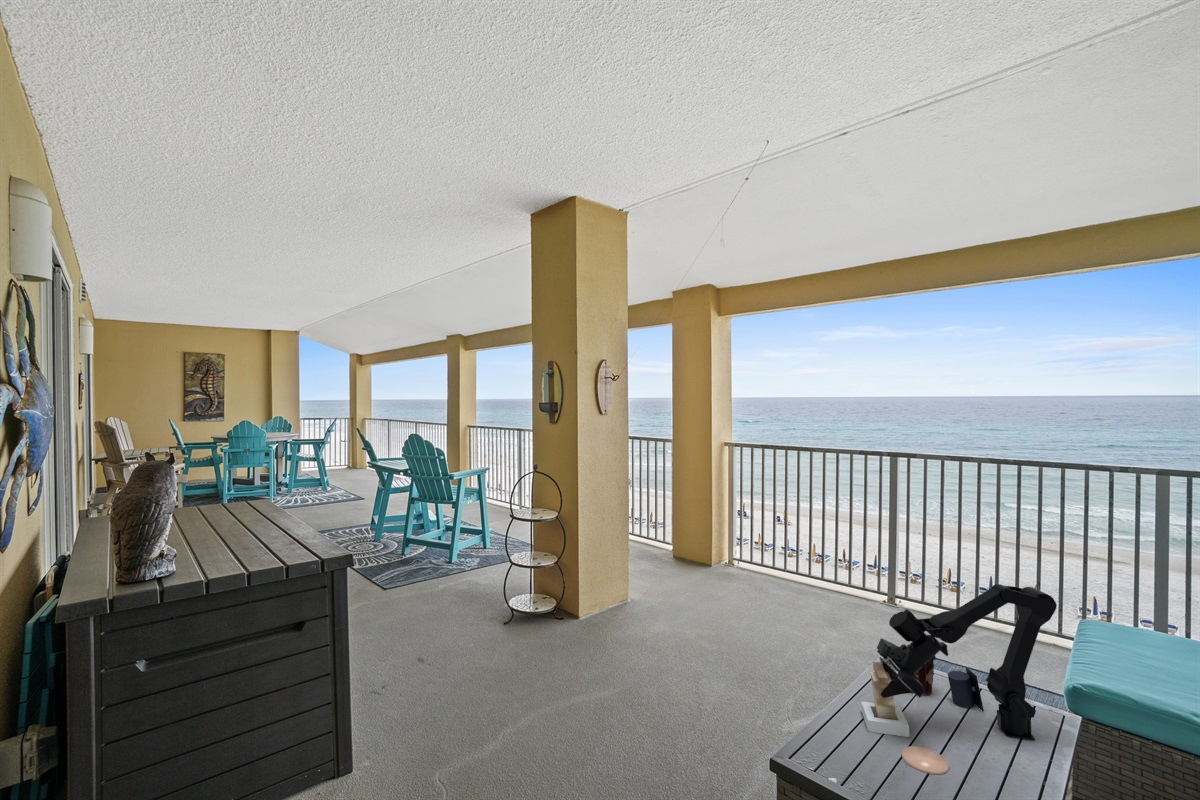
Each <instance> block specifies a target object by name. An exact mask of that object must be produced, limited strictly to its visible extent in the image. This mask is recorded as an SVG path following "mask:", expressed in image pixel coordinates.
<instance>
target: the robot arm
mask: <svg viewBox="0 0 1200 800" xmlns="http://www.w3.org/2000/svg"><path fill="white" fill-rule="evenodd" d="M1007 604H1012V605H1016V611H1017V616H1018V617H1017V620H1016V624H1015V626H1014V630H1013V632H1012V635H1011V638H1010V640H1009V645H1008V647H1007V649H1006V653H1005V656H1004V659H1003V662H1002V665H1001V666H999V667H998V668H997V669H995V668H993V667H990V668H989V671H988V672H989V673H988V677H987V678H985V682H987V685H986V687H987V690H988V691H989V693H990V694H991V695H992V696H994V699H995V700H996V701H997V703H998V709H997V710H996V725H997V726H998V727H999V729H1000V730H1001V731H1002V732H1003V734H1004V735H1005V736H1006V737H1009V738H1016V739H1023V740H1031V741H1035V739H1036V738H1035V736H1034V735H1033V734H1032V719H1033V718H1035V715H1036V712H1037V710H1036V709H1035V708H1034V706H1032V705H1031V704H1030V703H1029V702H1028V701H1027V700H1026V695H1027V688H1026V683H1025V674H1026V671H1027V667H1028V666H1029V661H1030V660H1031V655H1032V653H1033V650H1034V647H1035V644H1036V641H1037V638H1038V637H1039V632H1040V630H1041V628H1042V626H1043V625H1045V624H1046V623H1047V622H1049V621H1050V620H1051V619H1052V617H1053V615H1054V614H1055V612H1056V610H1057V606H1058V605H1057V602H1056V601H1055V599H1054V597H1053V596H1051V595H1050V594H1049V593H1046V592H1044V591H1041V590H1039V589H1037V588H1036V587H1035V588H1034V587H1033V586H1025V587H1022V588H1021V587H1017V586H1013V585H1012V586H1011V585H1003V584H1000V583H997V584H993V585H992V586H991V588H989V589H987V590H986V591H985V592H982V593H981V594H979V595H978V596H976V597H974V598H973V599H970V601H968V602H966V603H965V604H962V605H961V606H960V607H957V608H956V609H953V610H947V611H941V612H939V613H937V614H935V615H932V616H931V617H927V618H917V617H916V616H915V615H914V613H913V612H911V611H910V610H909V609H905V610H904V611H898V612H897V613H895V614H893V615H892V616H891V618H890V619H889V623H888V624H889V626H890V627H891V629H893V630H894V631H895V632H896V633H897V634H898V635H899V636H900V637H901V638H902V639H904V640H905V642H910V643H909V644H907V645H908V646H907V645H906V644H901V645H900V646H898V645H897V644H894V643H892V642H890V641H888V640H887V639H884V638H880V640H879V642H878V644H877V646H876V649H877V650H876V651H877V653H878V654H879V655H880V656H879V660H880V661H879V662H881V663H882V665H883V668H884V670H885V672H888V674H889V676H890V678H891V682H890V683H889V685H887V687H886V688H885V689H884V690H883V691H882V693H881V696H882V697H883V698H886V697H891V696H894V697H895V696H899V695H905V694H912V695H913V694H915V695H916V696H917V697H918V698H921V697H922V696H924V695H923V694H924V693H925V688H924V687H923V686H922V685H921V684H920V682H919V681H918V680H917V679H916V678H917V677H916V675H915V673H917V672H918V671H919V670H920V669H921V668H922V667H923V668H924V669H926V668H927V667H928V666H927V665H926V663H927V662H928V661H929V660H930V659H931V658H933V657H934V656H935V657H936V655H937V654H938V653H939V652H941V653H942V654H943V655H945V656H946V657H948V656H949V651H948V645H947V644H955V643H957V642H958V641H959V640H960V639H961V638H962V637H964V636H965V635H966V633H967V631H968V630H969V627H971V626H972V625H974V624H975V623H976V622H978V621H981V620H982V619H983V618H986V617H987V616H989V615H990V614H992V613H993V612H996V611H997V610H999V609H1000V608H1002V607H1004V606H1005V605H1007ZM925 632H927V633H928V634H926V633H925ZM938 639H939V640H941V641H939V640H938ZM946 643H947V644H946ZM912 691H913V692H912ZM1031 718H1032V719H1031Z"/></svg>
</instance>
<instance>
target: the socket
mask: <svg viewBox="0 0 1200 800" xmlns="http://www.w3.org/2000/svg"><path fill="white" fill-rule="evenodd" d="M860 703H861V705H860V706H861V708H860V709H861V714H862V713H863V715H862V717H863V716H864V717H863V720H864V723H865V725H866V729H867V731H868V732H869V733H870V732H871V733H876V734H883V735H892V736H899V737H906V738H910V725H909V723H908V721H907V719H906V717H905V715H904V713H903V710H902V709H901V706H900V705H895V710H896V718H897V720H890V719H883V718H876V711H875V704H874V702H868V701H860ZM874 716H875V717H874Z"/></svg>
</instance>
